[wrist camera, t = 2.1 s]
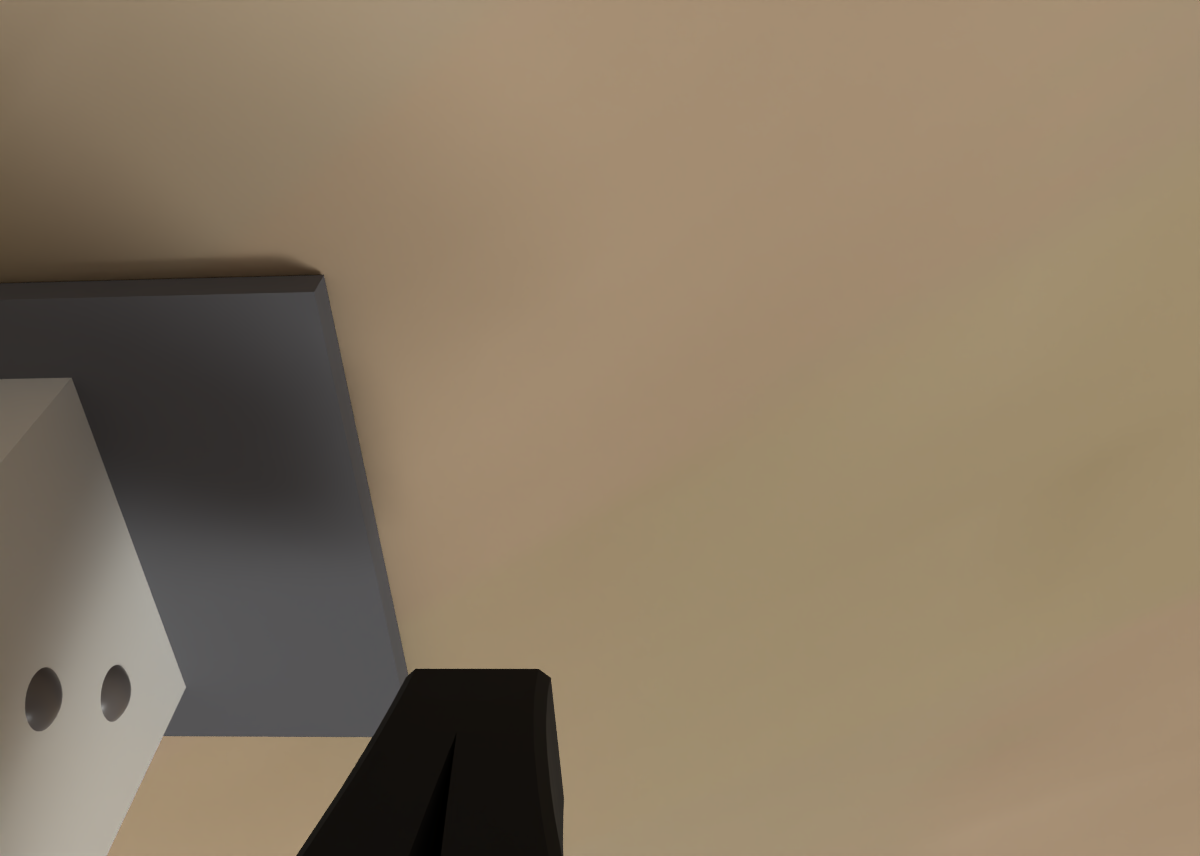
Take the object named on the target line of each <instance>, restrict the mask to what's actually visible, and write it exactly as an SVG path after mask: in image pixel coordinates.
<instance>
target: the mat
mask: <svg viewBox="0 0 1200 856" xmlns="http://www.w3.org/2000/svg"><path fill="white" fill-rule="evenodd" d="M30 378H72V380H73V383H74V386H75V388H76V391H77V394H78V396H79V399H80V402H81V404H82V407H83V410H84V413H85V415H86V418H87V421H88V423H89V426H90V429H91V432H92V434H93V437H94V440H95V442H96V445H97V448H98V450H99V453H100V456H101V459H102V461H103V464H104V467H105V469H106V472H107V475H108V478H109V480H110V483H111V486H112V488H113V491H114V494H115V496H116V499H117V502H118V505H119V507H120V510H121V513H122V515H123V518H124V521H125V523H126V526H127V529H128V532H129V534H130V537H131V540H132V542H133V545H134V548H135V551H136V553H137V556H138V559H139V561H140V564H141V567H142V569H143V572H144V575H145V578H146V580H147V583H148V586H149V588H150V591H151V594H152V597H153V599H154V602H155V605H156V607H157V610H158V613H159V615H160V618H161V621H162V624H163V626H164V629H165V632H166V634H167V637H168V640H169V643H170V645H171V648H172V651H173V653H174V656H175V659H176V661H177V664H178V667H179V670H180V672H181V675H182V678H183V680H184V683H185V686H186V688H185V690H184V693H183V695H182V697H181V699H180V701H179V703H178V705H177V707H176V710H175V712H174V714H173V716H172V718H171V720H170V722H169V724H168V727H167V729H166V731H165V733H164V735H163V736H268V737H373V735H374V734H375V732H376V730H377V729H378V727H379V725H380V723H381V722H382V720H383V718H384V716H385V715H386V713H387V711H388V709H389V708H390V706H391V704H392V702H393V700H394V699H395V697H396V695H397V693H398V691H399V689H400V687H401V686H402V684H403V682H404V680H405V678H406V677H407V676H408V672H407V667H406V662H405V658H404V653H403V648H402V643H401V639H400V634H399V629H398V624H397V620H396V615H395V610H394V605H393V601H392V596H391V591H390V587H389V582H388V577H387V572H386V568H385V563H384V558H383V553H382V549H381V544H380V539H379V534H378V530H377V525H376V520H375V515H374V511H373V506H372V501H371V496H370V492H369V487H368V482H367V477H366V473H365V468H364V463H363V458H362V454H361V449H360V444H359V439H358V435H357V430H356V425H355V421H354V416H353V411H352V406H351V402H350V397H349V392H348V387H347V383H346V378H345V373H344V368H343V364H342V359H341V354H340V349H339V345H338V340H337V335H336V330H335V326H334V321H333V316H332V311H331V307H330V302H329V297H328V292H327V288H326V283H325V278H324V275H305V276H267V277H229V278H190V279H152V280H114V281H76V282H38V283H0V379H30Z"/></svg>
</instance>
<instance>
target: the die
mask: <svg viewBox="0 0 1200 856" xmlns="http://www.w3.org/2000/svg"><path fill="white" fill-rule="evenodd" d="M185 688H186V686H185V683H184V680H183V678H182V675H181V672H180V670H179V667H178V664H177V661H176V659H175V656H174V653H173V651H172V648H171V645H170V643H169V640H168V637H167V634H166V632H165V629H164V626H163V624H162V621H161V618H160V615H159V613H158V610H157V607H156V605H155V602H154V599H153V597H152V594H151V591H150V588H149V586H148V583H147V580H146V578H145V575H144V572H143V569H142V567H141V564H140V561H139V559H138V556H137V553H136V551H135V548H134V545H133V542H132V540H131V537H130V534H129V532H128V529H127V526H126V523H125V521H124V518H123V515H122V513H121V510H120V507H119V505H118V502H117V499H116V496H115V494H114V491H113V488H112V486H111V483H110V480H109V478H108V475H107V472H106V469H105V467H104V464H103V461H102V459H101V456H100V453H99V450H98V448H97V445H96V442H95V440H94V437H93V434H92V432H91V429H90V426H89V423H88V421H87V418H86V415H85V413H84V410H83V407H82V404H81V402H80V399H79V396H78V394H77V391H76V388H75V386H74V383H73V380H72V378H30V379H0V856H107V854H108V852H109V850H110V847H111V845H112V843H113V841H114V839H115V837H116V835H117V833H118V831H119V828H120V826H121V824H122V822H123V820H124V818H125V816H126V814H127V811H128V809H129V807H130V805H131V803H132V801H133V799H134V797H135V794H136V792H137V790H138V788H139V786H140V784H141V782H142V780H143V777H144V775H145V773H146V771H147V769H148V767H149V765H150V763H151V760H152V758H153V756H154V754H155V752H156V750H157V748H158V746H159V743H160V741H161V739H162V737H163V735H164V733H165V731H166V729H167V727H168V724H169V722H170V720H171V718H172V716H173V714H174V712H175V710H176V707H177V705H178V703H179V701H180V699H181V697H182V695H183V693H184V690H185Z"/></svg>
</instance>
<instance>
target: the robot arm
mask: <svg viewBox="0 0 1200 856" xmlns="http://www.w3.org/2000/svg"><path fill="white" fill-rule="evenodd" d="M563 808H564V795H563V786H562V777H561V768H560V759H559V749H558V740H557V731H556V722H555V713H554V704H553V694H552V685H551V678H550V677H549V676H547V675H546V674H545V673H543V672H542V671H541V670H539V669H415V670H414V671H413V672H412V673H410V674H409V675H408V676H407V677H406V678H405V680H404V682H403V684H402V686H401V687H400V689H399V691H398V693H397V695H396V697H395V699H394V700H393V702H392V704H391V706H390V708H389V709H388V711H387V713H386V715H385V716H384V718H383V720H382V722H381V723H380V725H379V727H378V729H377V730H376V732H375V734H374V735H373V737H372V739H371V740H370V742H369V744H368V745H367V747H366V749H365V750H364V752H363V754H362V755H361V757H360V759H359V760H358V762H357V763H356V765H355V767H354V768H353V770H352V772H351V773H350V775H349V776H348V778H347V780H346V781H345V783H344V784H343V786H342V788H341V789H340V791H339V792H338V794H337V795H336V797H335V798H334V800H333V801H332V803H331V804H330V806H329V807H328V809H327V810H326V812H325V813H324V815H323V816H322V818H321V819H320V821H319V822H318V824H317V825H316V827H315V828H314V830H313V831H312V833H311V834H310V836H309V838H308V839H307V841H306V842H305V844H304V845H303V847H302V848H301V850H300V851H299V853H298V854H297V855H296V856H563Z"/></svg>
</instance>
